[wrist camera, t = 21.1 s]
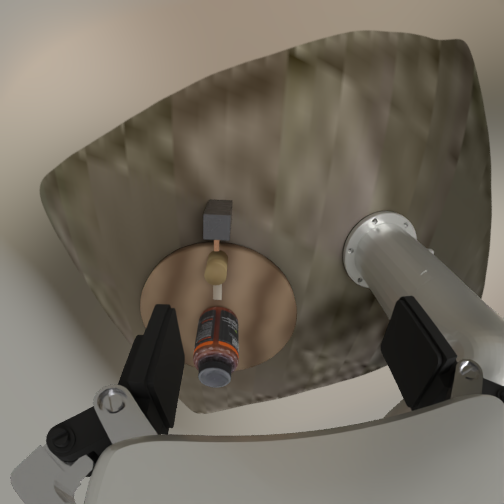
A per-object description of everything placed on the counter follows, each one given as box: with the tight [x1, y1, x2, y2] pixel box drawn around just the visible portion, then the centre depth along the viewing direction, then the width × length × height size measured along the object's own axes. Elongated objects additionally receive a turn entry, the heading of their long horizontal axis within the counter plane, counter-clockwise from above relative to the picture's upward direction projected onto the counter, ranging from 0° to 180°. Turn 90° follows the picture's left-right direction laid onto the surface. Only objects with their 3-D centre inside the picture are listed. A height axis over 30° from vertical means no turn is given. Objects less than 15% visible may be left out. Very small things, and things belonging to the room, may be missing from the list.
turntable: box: [140, 242, 297, 371], centre depth 41 cm, size 24×24×6 cm
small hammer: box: [203, 200, 232, 251], centre depth 35 cm, size 3×5×6 cm, turn 176°
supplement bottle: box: [193, 307, 239, 387], centre depth 37 cm, size 6×6×11 cm
